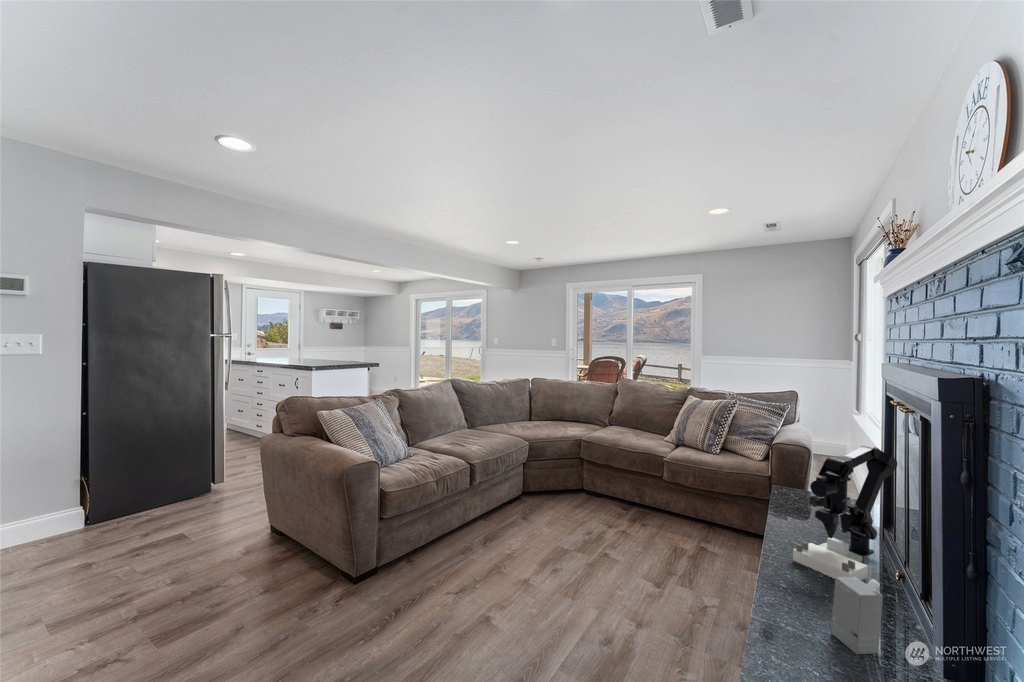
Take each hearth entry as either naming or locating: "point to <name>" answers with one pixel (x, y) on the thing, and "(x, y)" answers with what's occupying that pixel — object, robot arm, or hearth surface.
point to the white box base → (828, 562)
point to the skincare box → (856, 615)
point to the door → (840, 548)
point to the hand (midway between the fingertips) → (837, 535)
